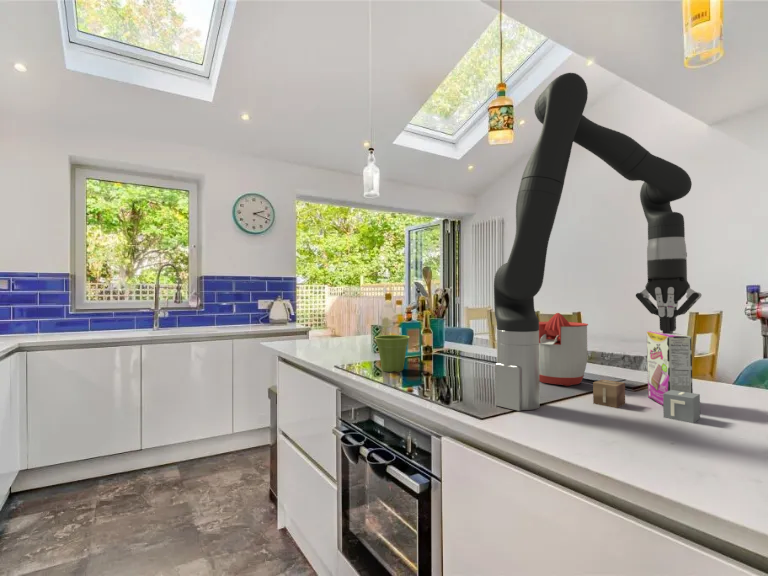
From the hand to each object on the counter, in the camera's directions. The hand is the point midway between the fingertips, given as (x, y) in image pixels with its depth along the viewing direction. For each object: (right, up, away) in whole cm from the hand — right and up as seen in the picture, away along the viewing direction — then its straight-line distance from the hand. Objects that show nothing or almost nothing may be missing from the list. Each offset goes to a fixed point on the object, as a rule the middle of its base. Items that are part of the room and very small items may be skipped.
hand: (668, 333), depth 94 cm
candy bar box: (0, -17, 0) cm, 17 cm away
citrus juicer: (-16, -17, +23) cm, 33 cm away
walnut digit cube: (-13, -17, 0) cm, 21 cm away
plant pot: (-63, -17, +42) cm, 78 cm away
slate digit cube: (-4, -16, -10) cm, 20 cm away
